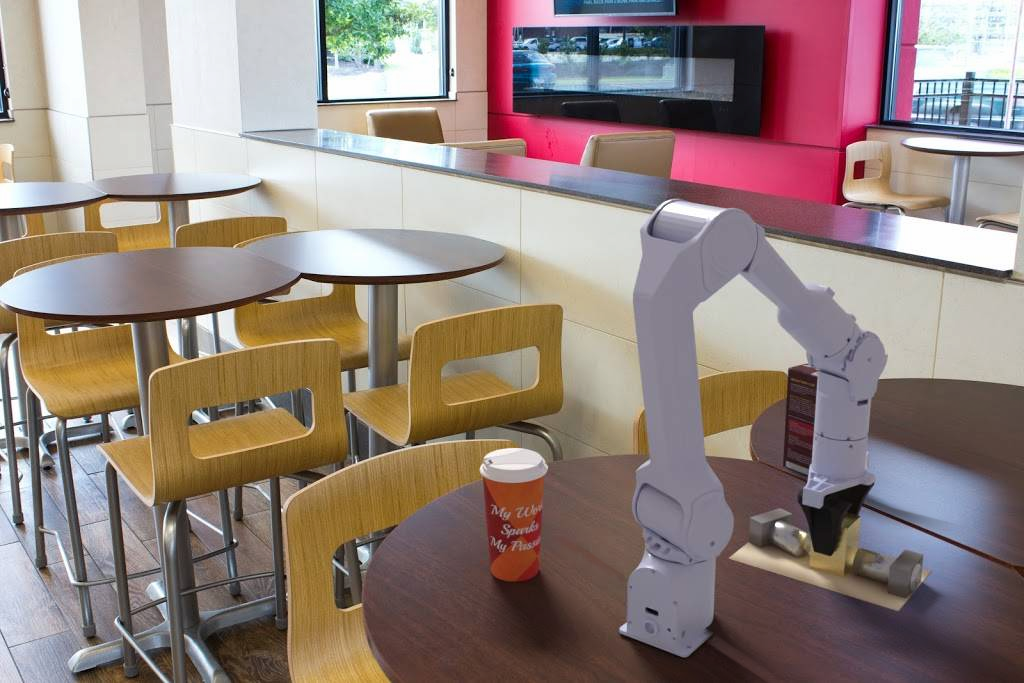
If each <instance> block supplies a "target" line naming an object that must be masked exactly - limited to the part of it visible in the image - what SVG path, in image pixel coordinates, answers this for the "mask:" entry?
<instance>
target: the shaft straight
mask: <svg viewBox="0 0 1024 683" xmlns="http://www.w3.org/2000/svg"><path fill="white" fill-rule="evenodd" d="M897 558H898V557H895V556H891V555H888V554H884V553H881V552H877V551H873V550H871V549H866V548H863V547H858V550H857V552H856V554H855V557H854V560H853V573H854V574H857V575H860V576H863V577H867V578H870V579H874V580H877V581H880V582H884V583H887V584H888V580H889V569H890V566H891V564H892V563H893V562H894V561H895V560H896V559H897ZM920 576H921V565H920V564H916V565H915V567H914V569H913V572H912V576H911V581H910V589H911V591H915V592H916V591H917V589H918V588H917V586H918V584H919V581H920Z"/></svg>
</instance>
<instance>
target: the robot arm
mask: <svg viewBox="0 0 1024 683" xmlns="http://www.w3.org/2000/svg"><path fill="white" fill-rule="evenodd" d="M639 234H640V244H641V254H642V255H641V259H640V263H639V268H638V271H637V275H636V280H635V283H634V288H633V292H632V306H633V315H634V317H633V318H634V324H635V333H636V343H637V351H638V352H637V353H638V362H639V370H640V372H639V373H640V378H641V389H642V390H641V391H642V398H643V408H644V418H645V425H646V426H645V427H646V434H647V444H648V452H649V453H648V455H649V459H648V460H647V461H646V462H644V463H642V464H641V465H640V466H639V467H637V469H636V470H635V478H636V485H635V489H634V494H633V497H632V501H631V511H632V516H633V517H634V520H635V522H636V523H638V524H639V525H640V526H641V527H642V538H643V539H644V541H645V544H644V545H645V546H644V552H643V556H642V559H641V561H640V563H639V565H638V566H637V567H636V568H635V569H634V570H633V571H632V573H631V574H630V576H629V577H628V580H627V585H626V586H627V588H626V589H627V593H626V595H627V596H626V600H627V601H626V622H625V623H623V625H621V626H620V627H619V630H618V631H619V633H620V634H621V635H623V636H627V637H629V638H631V639H634V640H637V641H639V642H642V643H644V644H647V645H650V646H653V647H655V648H658V649H660V650H663V651H666V652H668V653H670V654H672V655H675V656H679V657H680V658H687V657H689V656H690V655H692V653H693V652H695V651H696V650H697V649H698V648H699V647H701V645H703V644H704V643H705V642H706V641H707V640H708V639H709V638H711V636H713V635H714V633H713V632H712V631H711V630H709V629H707V628H708V627H709V626H710V625H711V624H712V623H713V620H714V612H715V611H714V610H715V609H714V608H715V586H716V585H715V584H716V562H717V557H719V556H721V553H722V551H724V549H725V548H726V547H727V545H728V543H729V542H730V540H731V538H732V536H733V532H734V526H735V518H734V514H733V511H732V510H731V508H730V506H729V505H728V503H727V501H726V498H725V494H724V493H725V492H724V486H723V484H722V482H721V481H720V479H719V477H717V474H716V473H715V472H714V470H713V469H712V467H711V466H710V464H709V463H708V461H707V458H706V457H707V456H706V448H705V436H704V435H705V434H704V425H703V424H704V423H703V415H702V414H703V413H702V404H701V403H702V402H701V392H700V390H701V389H700V380H699V369H698V368H699V367H698V358H697V347H696V335H695V324H694V311H695V310H696V309H697V307H698V306H699V305H700V303H704V302H706V301H707V300H709V299H710V298H711V297H712V296H713V295H715V294H716V293H717V292H718V291H720V290H721V289H723V287H725V285H727V284H728V283H730V282H732V280H733V279H734V278H736V277H737V276H738V275H740V276H741V277H743V278H744V279H745V280H746V281H747V282H749V283H750V284H751V285H752V286H753V287H754V288H755V289H756V290H757V291H759V292H760V293H761V294H762V295H763V296H764V297H765V298H767V299H768V300H769V301H770V302H771V303H773V305H774V306H777V314H776V315H777V316H776V317H777V318H776V319H777V322H778V324H779V326H780V327H781V328H783V330H784V331H785V332H786V333H788V334H789V336H791V338H792V339H794V340H795V341H796V342H797V343H798V344H799V345H800V346H801V347H802V348H803V349H804V350H805V352H806V360H807V363H808V364H809V366H810V367H814V368H815V369H817V370H819V371H818V380H817V395H816V409H815V424H814V438H813V452H812V464H811V465H810V468H809V475H808V476H807V482H806V485H805V486H804V487H803V488H802V489H801V490H799V491H798V492H797V496H796V497H797V499H796V500H797V503H798V504H799V506H800V507H801V509H802V511H803V514H804V516H805V518H806V522H807V525H808V530H809V534H810V536H811V541H812V546H813V550H814V552H817V553H820V554H824V555H827V556H832V555H833V553H834V551H835V549H836V545H837V541H838V536H839V532H840V528H841V524H842V522H843V519H844V517H845V515H846V513H850V514H854V515H858V516H860V511H861V509H862V506H863V504H864V503H865V500H866V498H867V496H868V494H869V493H870V492H871V490H872V488H874V485H875V482H876V478H877V477H876V476H877V475H876V474H875V473H872V472H871V473H870V472H868V468H869V467H870V457H871V456H870V455H871V452H870V451H868V439H869V429H870V417H871V416H870V415H871V405H872V398H873V397H874V396H875V393H876V392H877V391H878V390H877V389H878V382H879V379H880V377H881V375H882V374H883V372H884V370H885V368H886V365H887V362H888V358H889V355H888V354H887V353H886V350H885V345H884V343H883V342H882V341H881V339H880V337H879V336H878V335H877V334H876V333H874V332H873V331H869V330H865V329H861V328H860V326H859V324H858V323H857V322H856V321H857V317H856V316H855V315H854V314H853V313H850V312H848V311H847V312H846V310H844V309H843V308H842V306H841V305H840V304H838V303H837V301H836V300H835V299H834V297H835V295H836V294H835V293H836V292H835V291H833V289H832V288H831V287H829V286H825V285H820V284H819V285H818V284H816V283H803V282H802V281H801V279H800V278H799V277H798V276H797V275H796V273H795V272H794V271H793V270H792V268H790V266H789V265H788V264H787V262H786V261H785V260H784V259H783V258H782V257H781V255H780V254H779V253H778V252H777V250H776V249H775V248H774V247H773V246H772V244H771V243H770V242H769V241H768V240H767V238H766V231H765V228H764V227H762V226H761V225H759V224H758V223H757V222H755V221H754V220H753V218H752V217H751V215H750V214H748V212H745V211H744V210H743V209H740V208H736V207H731V208H729V207H728V208H725V207H720V206H719V207H718V206H715V205H714V206H713V205H707V204H700V203H695V202H691V201H688V200H685V199H682V198H672V199H668V200H665V201H664V202H662V203H661V204H660V205H658V206H657V207H656V209H654V211H653V212H652V213H651V214H650V216H649V217H648V219H647V220H646V221H645V222H644V224H643V225H642V226H641V227H640V229H639Z"/></svg>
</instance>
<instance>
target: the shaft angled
mask: <svg viewBox="0 0 1024 683" xmlns="http://www.w3.org/2000/svg"><path fill="white" fill-rule="evenodd" d="M768 540H769V542H770V543H772V544H774V545H776V546H778V547H780V548H782V549H784V550H786V551H787V552H789V553H791V554H793V555H795V556H797V557H799V558H802V557H805V556H806V555H807V554H808V553H809V552H810V551H811V536H810V532H807V531H804V530H802V529H801V528H798V527H796V526H794V525H790V524H788V523H786V522H784V521H782V520H777V521H775V522H773V523H772V525H771V526H770V528H769V530H768Z"/></svg>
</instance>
